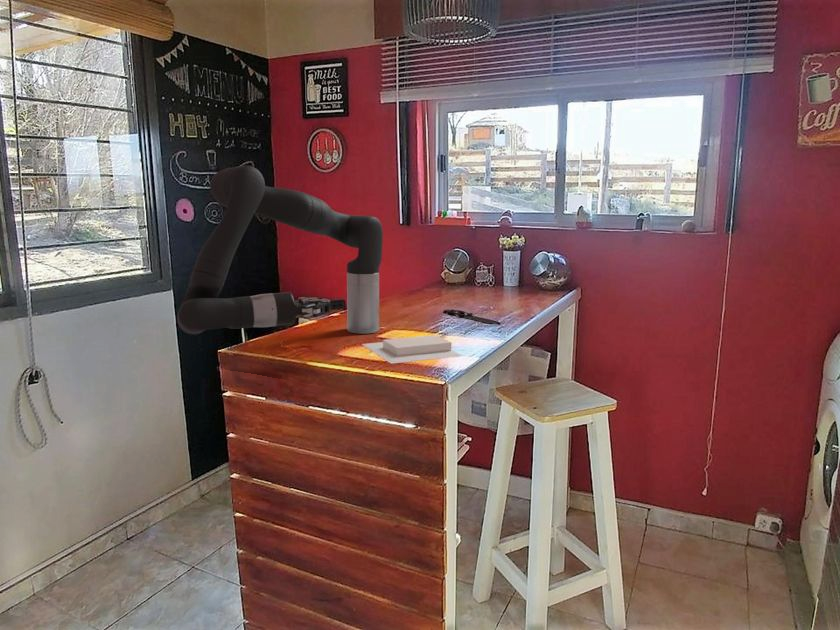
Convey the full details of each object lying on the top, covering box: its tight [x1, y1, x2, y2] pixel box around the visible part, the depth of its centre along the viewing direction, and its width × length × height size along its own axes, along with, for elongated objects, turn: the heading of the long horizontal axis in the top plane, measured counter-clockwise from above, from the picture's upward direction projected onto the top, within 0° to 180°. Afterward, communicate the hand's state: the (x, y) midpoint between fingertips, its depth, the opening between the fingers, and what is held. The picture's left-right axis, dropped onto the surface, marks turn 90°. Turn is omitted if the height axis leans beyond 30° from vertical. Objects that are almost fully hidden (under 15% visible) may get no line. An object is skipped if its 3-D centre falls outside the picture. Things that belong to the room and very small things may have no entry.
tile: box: [382, 334, 452, 356], centre depth 153 cm, size 9×2×15 cm
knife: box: [442, 308, 502, 325], centre depth 198 cm, size 25×6×1 cm, turn 34°
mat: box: [361, 341, 463, 365], centre depth 153 cm, size 20×19×1 cm
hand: (344, 303), depth 144 cm, fingers closed
